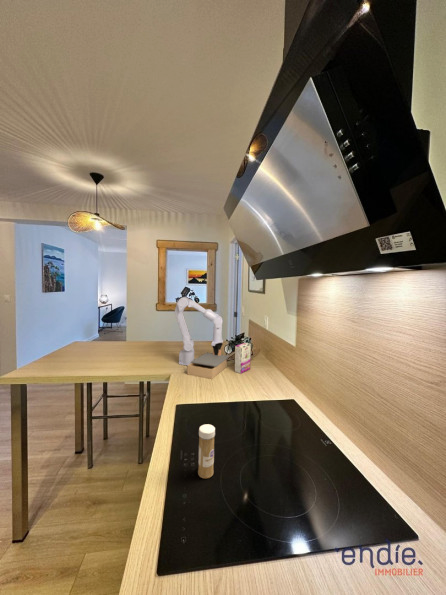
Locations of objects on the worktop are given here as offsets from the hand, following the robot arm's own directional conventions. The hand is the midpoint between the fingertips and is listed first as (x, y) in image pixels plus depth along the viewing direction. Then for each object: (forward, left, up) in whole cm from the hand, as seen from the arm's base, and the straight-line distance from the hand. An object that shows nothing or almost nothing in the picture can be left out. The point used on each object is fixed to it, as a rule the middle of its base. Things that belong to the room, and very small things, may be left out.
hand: (216, 354), depth 167 cm
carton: (0, -14, -7) cm, 15 cm away
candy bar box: (+19, -4, -7) cm, 21 cm away
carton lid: (0, -9, -1) cm, 9 cm away
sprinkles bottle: (+35, -89, -7) cm, 95 cm away
